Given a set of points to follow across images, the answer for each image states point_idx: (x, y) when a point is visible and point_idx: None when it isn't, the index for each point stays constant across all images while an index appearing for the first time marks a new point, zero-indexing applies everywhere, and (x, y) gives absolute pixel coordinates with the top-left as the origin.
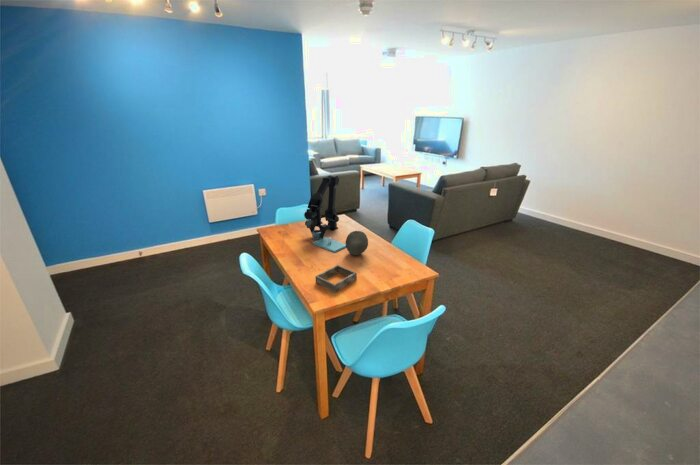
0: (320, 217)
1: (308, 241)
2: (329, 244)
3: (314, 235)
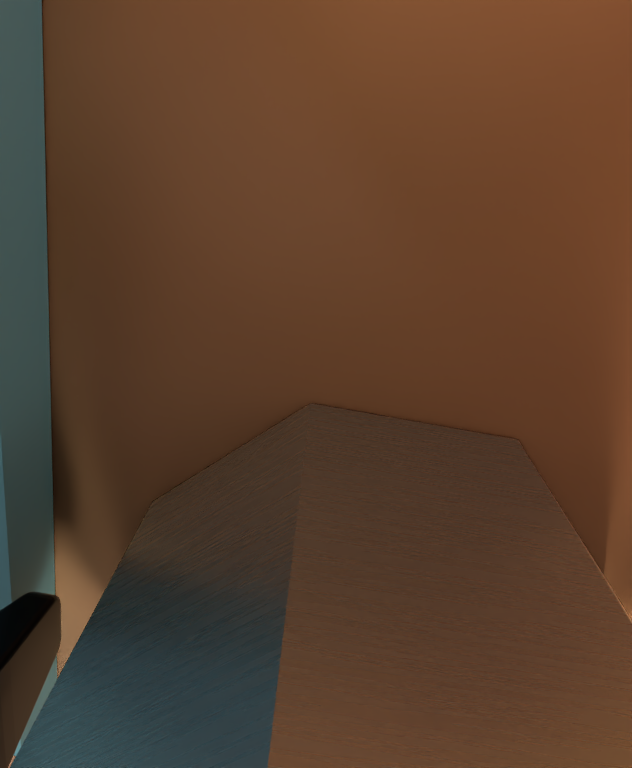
0: None
1: (565, 55)
2: None
3: (370, 590)
